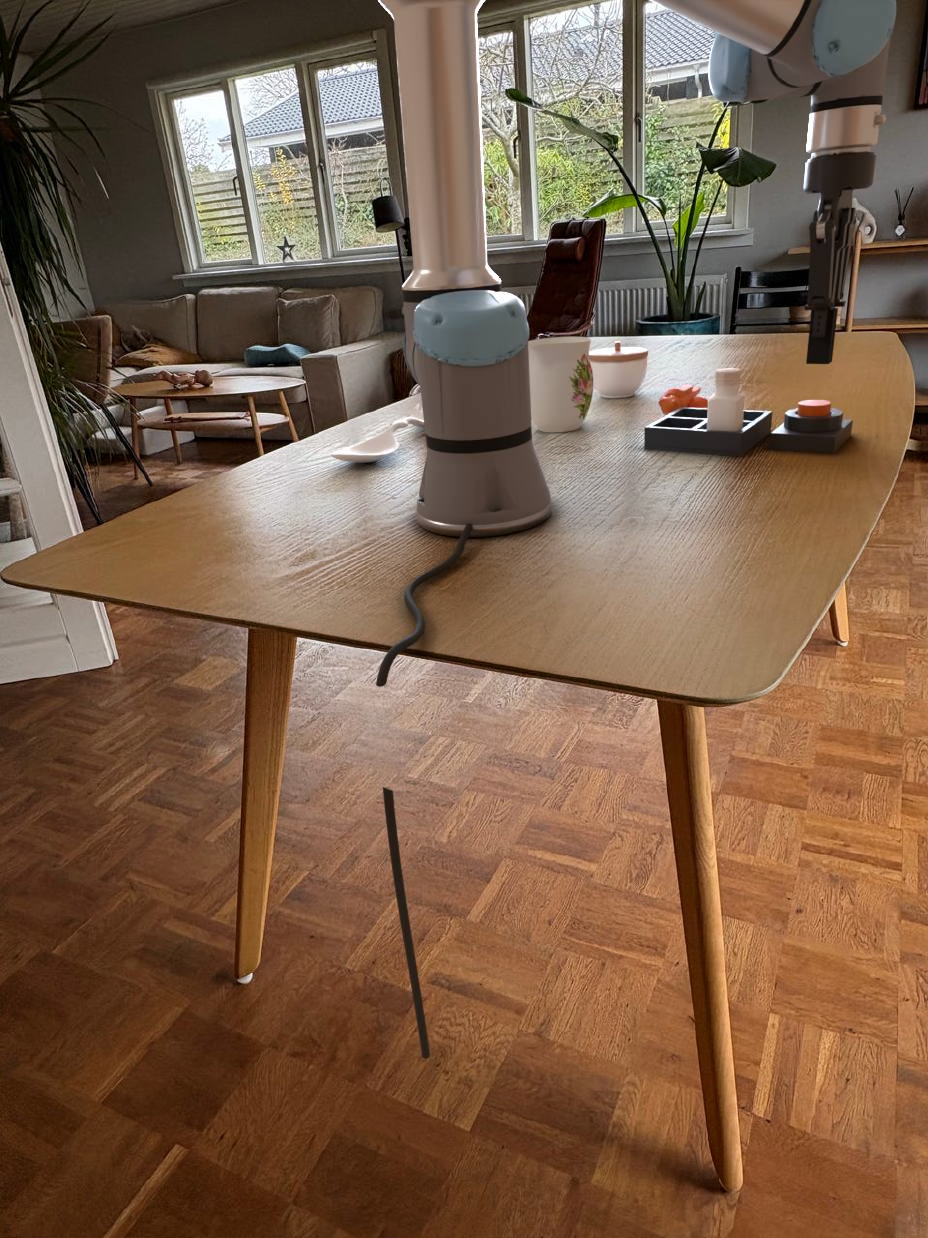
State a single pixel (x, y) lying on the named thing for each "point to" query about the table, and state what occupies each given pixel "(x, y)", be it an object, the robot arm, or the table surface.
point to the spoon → (380, 441)
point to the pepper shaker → (726, 402)
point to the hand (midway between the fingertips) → (819, 362)
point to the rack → (705, 433)
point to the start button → (814, 408)
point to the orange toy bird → (682, 399)
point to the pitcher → (560, 382)
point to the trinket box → (618, 370)
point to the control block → (811, 432)
